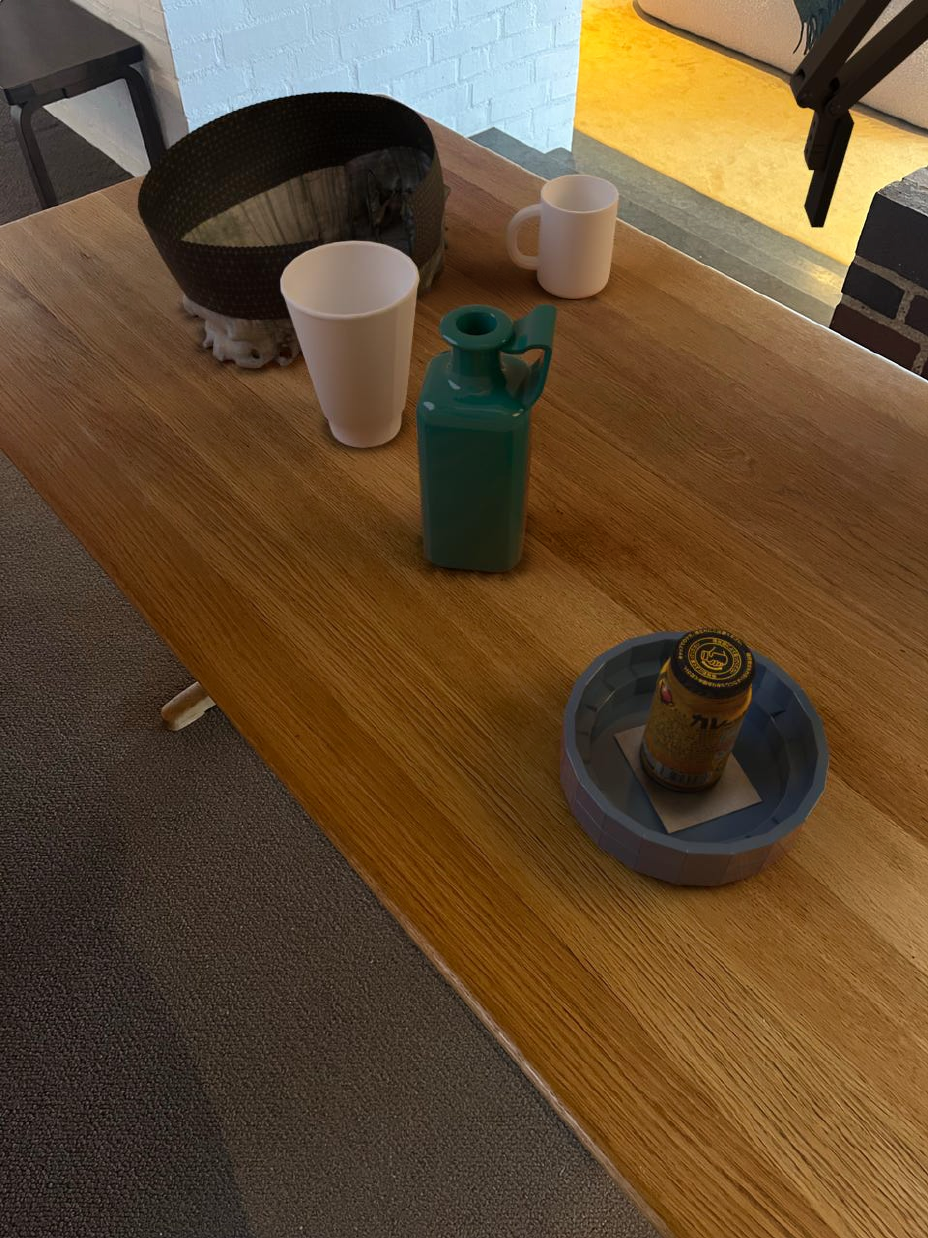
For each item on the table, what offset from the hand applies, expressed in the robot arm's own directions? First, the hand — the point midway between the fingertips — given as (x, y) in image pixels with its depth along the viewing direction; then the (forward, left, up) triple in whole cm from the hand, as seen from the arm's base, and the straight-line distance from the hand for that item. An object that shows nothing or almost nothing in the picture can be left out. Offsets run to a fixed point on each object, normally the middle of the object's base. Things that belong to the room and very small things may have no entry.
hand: (919, 218), depth 62 cm
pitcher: (+28, +2, -29) cm, 40 cm away
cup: (+40, -13, -29) cm, 51 cm away
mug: (+21, -39, -29) cm, 53 cm away
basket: (+47, -35, -29) cm, 65 cm away
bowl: (+13, +25, -29) cm, 40 cm away
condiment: (+13, +25, -28) cm, 40 cm away
